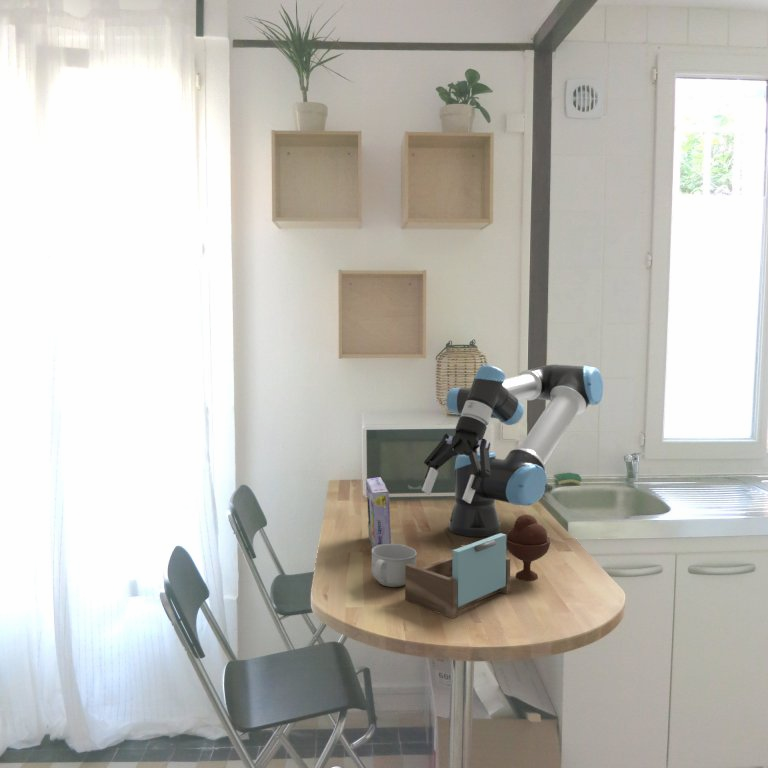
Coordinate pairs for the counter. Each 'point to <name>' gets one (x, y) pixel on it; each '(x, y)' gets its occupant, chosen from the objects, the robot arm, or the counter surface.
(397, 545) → the teacup
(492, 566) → the pale blue slab
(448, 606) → the drawer box
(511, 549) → the ice cream bowl
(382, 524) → the cake pan box
